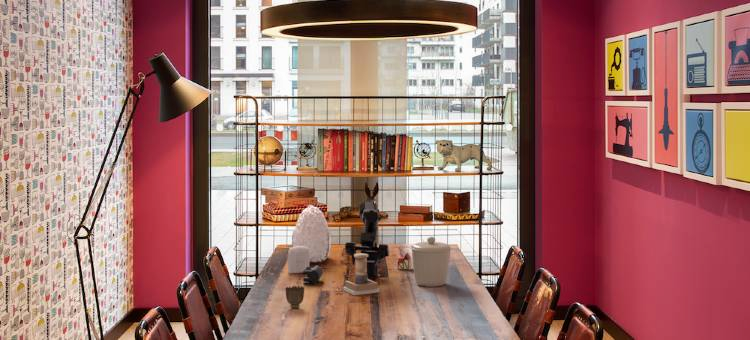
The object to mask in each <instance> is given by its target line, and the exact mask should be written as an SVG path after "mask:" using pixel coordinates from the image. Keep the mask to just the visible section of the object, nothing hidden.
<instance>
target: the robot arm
mask: <svg viewBox="0 0 750 340" xmlns="http://www.w3.org/2000/svg"><path fill="white" fill-rule="evenodd" d="M358 206H359V207H358V216H359V217H360V222H362V223H363V227H364V228H363V232H360V235H359V243H360V245H356V242H353V241H352V242H351V241H347V242H346V243H345V244H344V247H345V253H346V254H347V255H348V256H351V260H352V261H351V262H352V266H355V265H356V258H355V257H354V254H357V251H360V253H363V254H368V257H367V274H368V279H370V278H379V275H378V265H379V264H381V260H383V259H385V258H386V257H389V256H390V248H389V245H388V244H383V243H382V244H381V243H380V244H377V242H376V241H377V237H378V230H379V229H378V228H379V227H378V225H379V222H380V221H381V220H382V218H381V217H382V216H381V215H380V213H378V205H377V204H376V203H375V200H373V199H363V201H362V203H361V204H359V205H358Z"/></svg>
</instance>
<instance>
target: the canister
mask: <svg viewBox="0 0 750 340" xmlns="http://www.w3.org/2000/svg"><path fill="white" fill-rule="evenodd" d="M410 249H411V256H412V267H413V274H414V280H415V282H416V284H417V285H419V286H421V287H427V288H434V287H435V288H437V287H442V286H444V285H445V283H447V278H448V274H449V266H450V258H451V251H452V249H453V247H452V246H450V245H449V244H447V243H445V242H439V241H436V238H435V237H434V236H429V237H427V239H426V241H421V242H416V243H414V244H413V245H411V246H410Z"/></svg>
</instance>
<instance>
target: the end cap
mask: <svg viewBox="0 0 750 340" xmlns="http://www.w3.org/2000/svg"><path fill="white" fill-rule="evenodd" d="M323 274H324V271H323V269H322V267H321V266H319V265H315V266H309V267H306V269H304V270H303V273H302V275H303V276H306V277H303V278H302V282H303V285H308V286H309V285H310V286H312V285H315V284H316V283H318V282H319V280H320V279H321V278H322V276H323Z"/></svg>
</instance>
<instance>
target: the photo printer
mask: <svg viewBox="0 0 750 340" xmlns="http://www.w3.org/2000/svg"><path fill="white" fill-rule="evenodd" d="M287 251H288V253H287V260H288V261H287V271H288V272H287V273H288V274H300V273H302V274H303V270H304V269H306V267H310V262H309V248H308V247H305V246H295V247H292V246H291V247H289V248H288V250H287Z"/></svg>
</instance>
